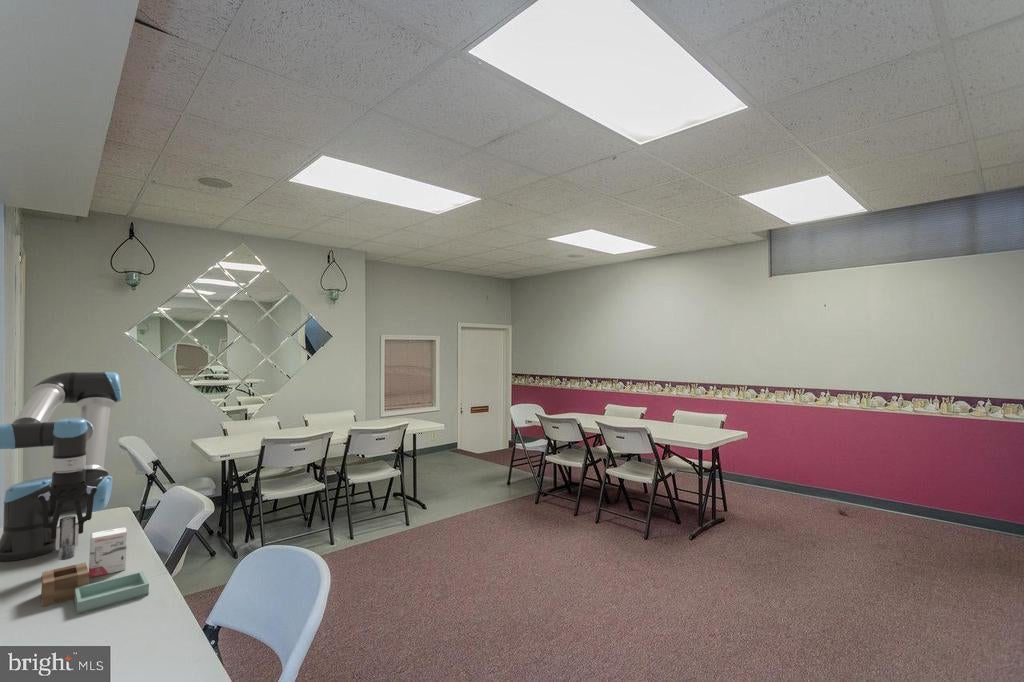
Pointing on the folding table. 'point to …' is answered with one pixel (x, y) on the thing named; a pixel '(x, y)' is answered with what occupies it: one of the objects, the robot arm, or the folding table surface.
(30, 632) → the folding table surface
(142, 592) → the tray
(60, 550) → the cylinder
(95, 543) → the ink box
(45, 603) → the wooden square holder
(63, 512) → the robot arm
